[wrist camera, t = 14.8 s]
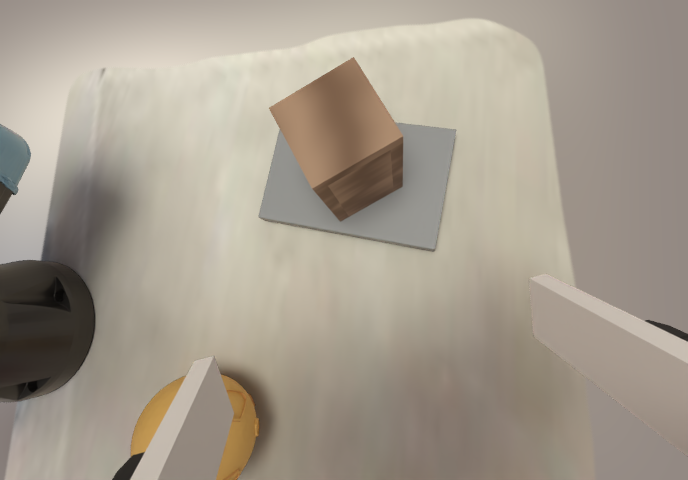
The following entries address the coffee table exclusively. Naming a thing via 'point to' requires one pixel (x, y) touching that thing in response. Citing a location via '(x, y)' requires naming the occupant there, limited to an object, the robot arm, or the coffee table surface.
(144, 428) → the stress ball
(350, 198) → the brown wooden block
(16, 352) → the robot arm
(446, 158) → the stub plate
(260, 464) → the coffee table surface
